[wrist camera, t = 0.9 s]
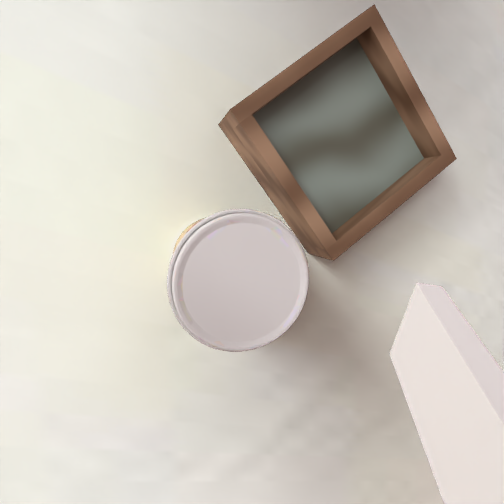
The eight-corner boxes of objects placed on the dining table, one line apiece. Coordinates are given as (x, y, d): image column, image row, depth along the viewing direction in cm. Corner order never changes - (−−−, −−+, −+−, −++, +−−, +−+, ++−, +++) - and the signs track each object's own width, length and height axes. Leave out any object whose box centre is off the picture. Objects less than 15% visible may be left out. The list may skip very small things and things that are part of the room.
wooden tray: (218, 124, 34) (230, 109, 28) (341, 34, 36) (374, 4, 30) (308, 253, 37) (333, 260, 32) (415, 165, 39) (456, 158, 34)
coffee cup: (269, 215, 36) (323, 219, 24) (255, 310, 37) (302, 358, 25) (169, 201, 33) (177, 198, 22) (157, 303, 34) (159, 353, 23)
